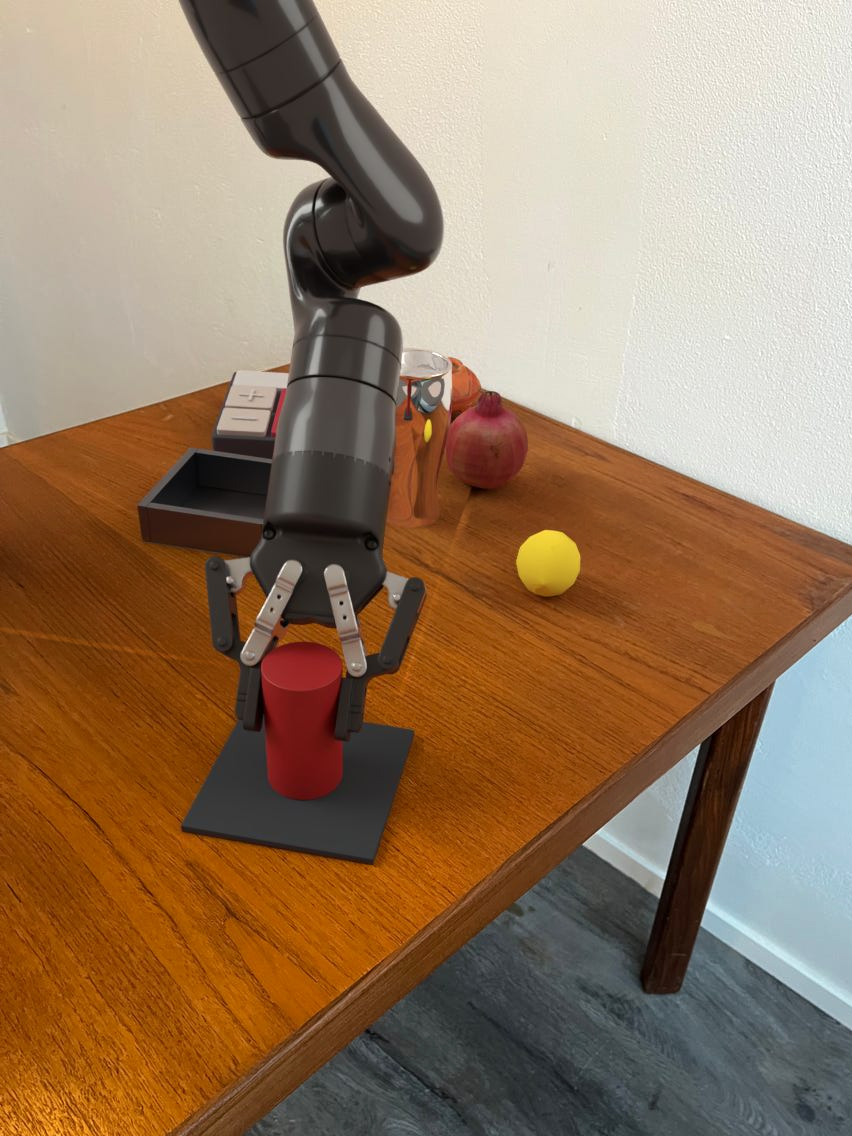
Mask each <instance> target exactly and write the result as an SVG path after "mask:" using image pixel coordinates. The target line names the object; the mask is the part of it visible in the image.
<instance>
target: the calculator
mask: <svg viewBox="0 0 852 1136" xmlns="http://www.w3.org/2000/svg"><path fill="white" fill-rule="evenodd" d="M288 376H289V372H274V371H257V370H244V369H243V370H239V369H238V370H237V371H235V372H233V374H232V376H231V380H230V382H229V386H228V388H227V390H226V393H225V396H224V399H223V401H222V405H221V406H220V410H219V414H218V415H217V418H216V421H215V424H214V426H213V429H212V433H211V445H212V451H218V452H225V453H232V454H239V455H246V456H253V457H260V458H267V459H272V458H273V451H274V444H275V437H276V430H277V424H278V420H279V416H280V412H281V409H282V406H283V402H284V399H285V394H286V389H287V383H288Z"/></svg>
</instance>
